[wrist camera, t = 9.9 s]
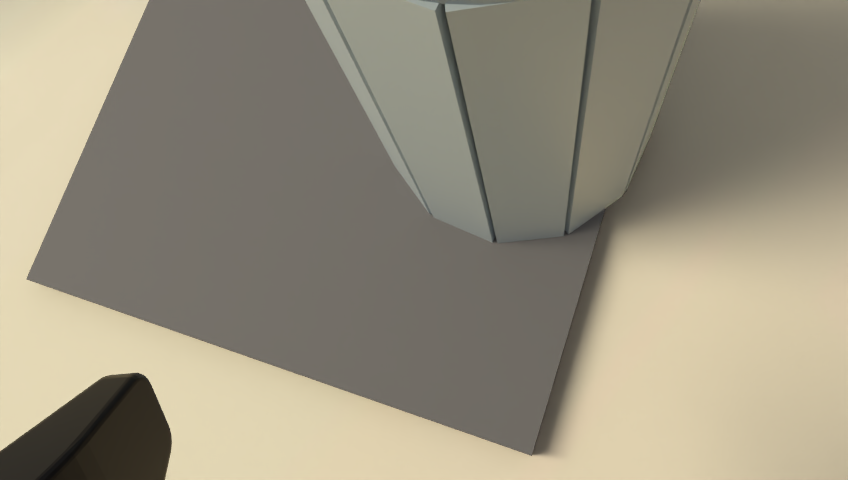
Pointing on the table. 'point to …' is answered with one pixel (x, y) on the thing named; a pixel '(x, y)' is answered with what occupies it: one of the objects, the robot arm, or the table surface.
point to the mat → (301, 229)
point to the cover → (510, 100)
